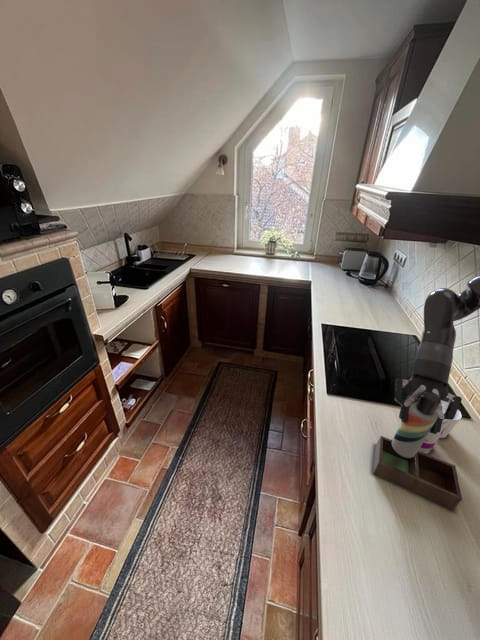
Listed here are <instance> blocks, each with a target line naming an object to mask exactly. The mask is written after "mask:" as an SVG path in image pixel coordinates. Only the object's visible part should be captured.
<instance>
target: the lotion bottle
mask: <svg viewBox="0 0 480 640" xmlns="http://www.w3.org/2000/svg"><path fill="white" fill-rule="evenodd" d="M417 400H418V399H417ZM441 401H442V399H440V397H439V396H438V395H437V394H435V393H433V392H430V391H426V392H423V393H422V394H421V396H420V398H419V400H418V401H413V402H412V403H411V404H410V406H409V407H408V408H409V412H408V416H407V421H406V423H404V422H400V424H399V426H398V428H397V430H396V432H395V434H394V436H393V438H392V439H391V440H392V447H393V449H394V450H395V451H396V452H397V453H398V454H399V455H401V456H403V457H406V458H412V457H414V456H415V454H416V453H417V451H418V449H419V448H420V446H421V445H422V443H423V441H424V440H425V438H426V436H427V435H428V433H429V431H430V430H431V428H432V427H433V425H434V423H435V422H436V420H437V418H438V415H437V412H436V409H437V408H438V406H439V405H440V403H441Z"/></svg>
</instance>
